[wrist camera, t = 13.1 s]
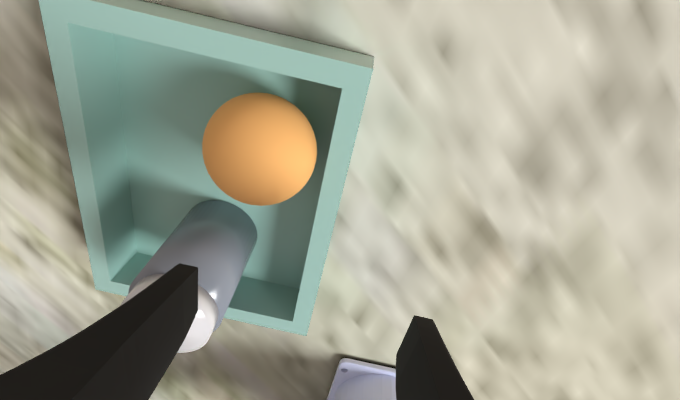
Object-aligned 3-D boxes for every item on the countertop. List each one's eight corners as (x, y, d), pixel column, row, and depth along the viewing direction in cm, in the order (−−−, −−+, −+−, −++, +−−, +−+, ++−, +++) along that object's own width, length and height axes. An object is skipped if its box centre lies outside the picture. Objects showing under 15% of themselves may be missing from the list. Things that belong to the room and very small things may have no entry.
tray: (314, 299, 24) (306, 335, 22) (126, 257, 24) (95, 289, 22) (373, 56, 16) (373, 68, 14) (91, -13, 16) (35, -13, 13)
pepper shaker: (248, 267, 23) (205, 365, 17) (181, 245, 23) (113, 338, 17) (265, 215, 21) (223, 306, 15) (191, 189, 20) (117, 273, 14)
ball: (275, 63, 17) (353, 121, 15) (259, 146, 20) (322, 201, 19) (177, 79, 14) (264, 156, 12) (177, 176, 17) (245, 246, 15)
